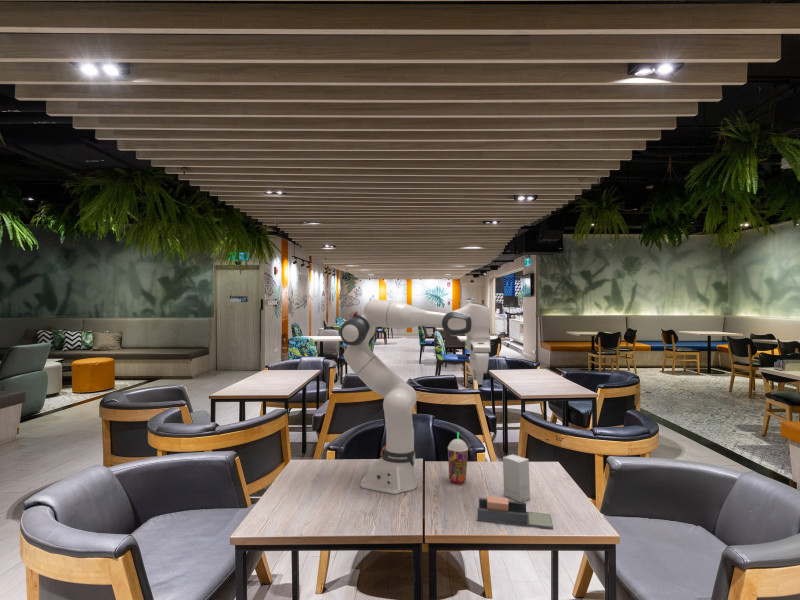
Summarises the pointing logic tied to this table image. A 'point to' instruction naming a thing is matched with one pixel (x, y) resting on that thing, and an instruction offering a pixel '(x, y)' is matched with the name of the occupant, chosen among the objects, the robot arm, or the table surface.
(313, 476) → the table surface
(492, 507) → the block
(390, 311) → the robot arm
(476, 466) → the table surface
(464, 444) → the smoothie
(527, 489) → the skincare box
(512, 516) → the chute
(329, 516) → the table surface
